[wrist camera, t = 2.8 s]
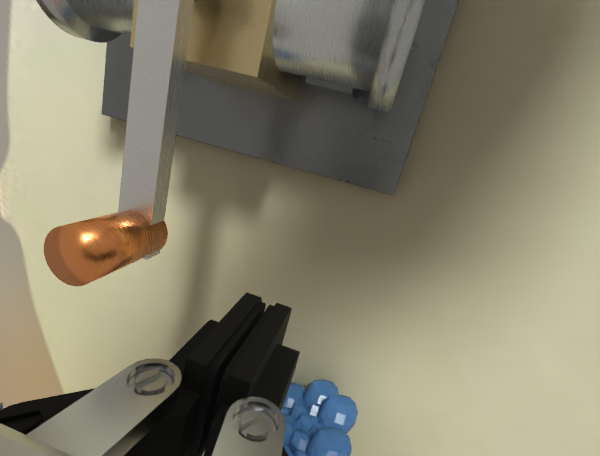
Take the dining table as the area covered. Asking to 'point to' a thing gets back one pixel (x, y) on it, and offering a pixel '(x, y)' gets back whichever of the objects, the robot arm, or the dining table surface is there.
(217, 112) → the valve body
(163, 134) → the lever
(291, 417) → the grapes
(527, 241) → the dining table surface
